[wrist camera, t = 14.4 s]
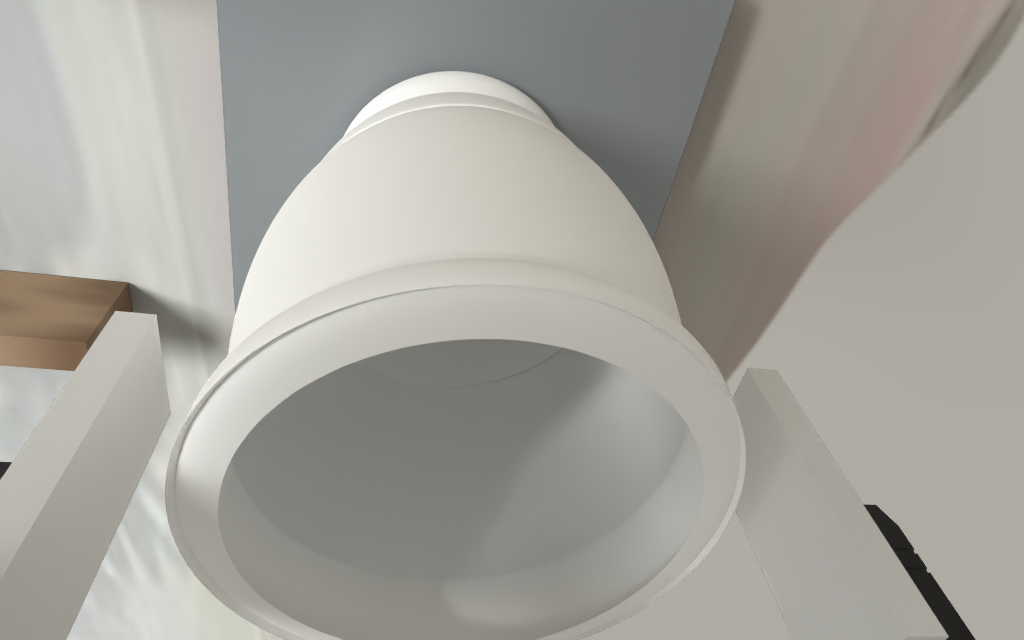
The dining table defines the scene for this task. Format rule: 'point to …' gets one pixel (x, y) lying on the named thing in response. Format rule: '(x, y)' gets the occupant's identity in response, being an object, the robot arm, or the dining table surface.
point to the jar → (454, 394)
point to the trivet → (458, 47)
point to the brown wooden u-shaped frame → (54, 317)
